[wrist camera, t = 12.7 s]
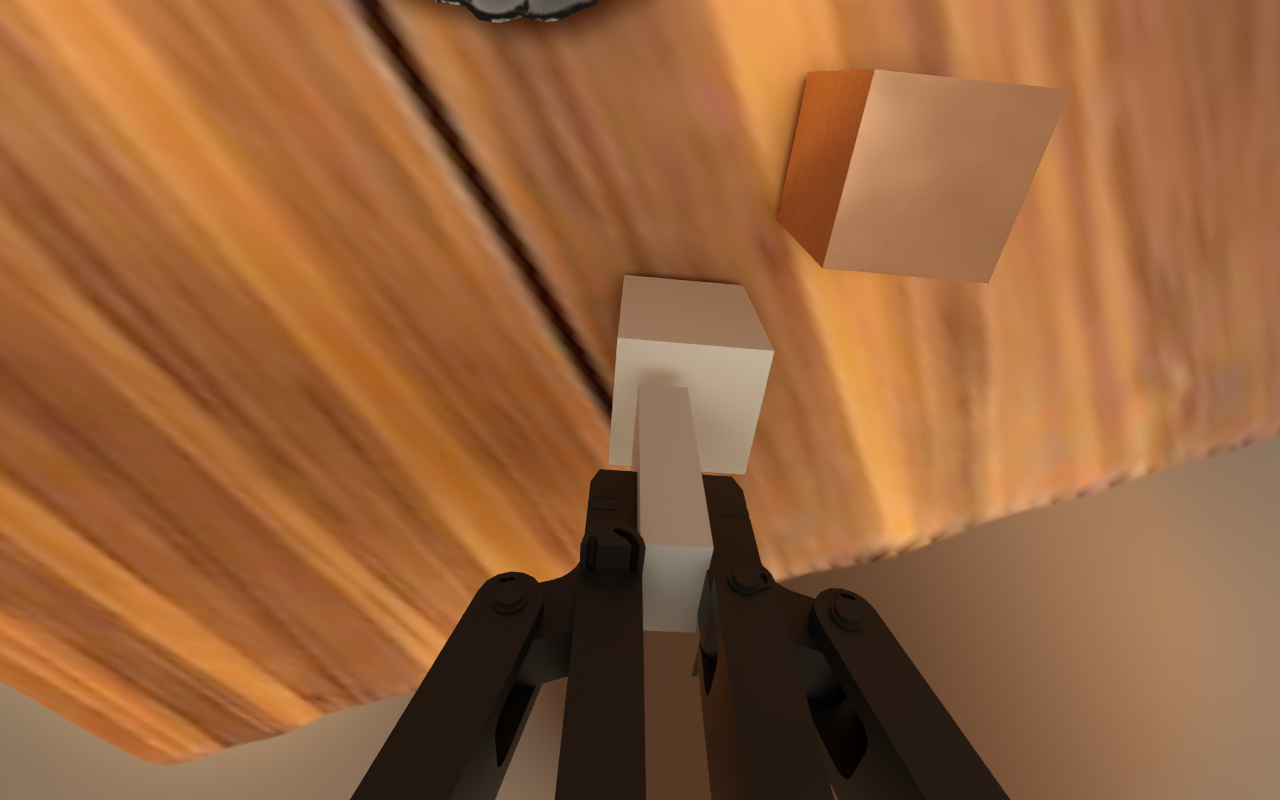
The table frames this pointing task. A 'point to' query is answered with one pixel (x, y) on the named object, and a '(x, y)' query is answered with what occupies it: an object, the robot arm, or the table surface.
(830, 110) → the tan brown block
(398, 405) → the table surface
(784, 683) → the robot arm
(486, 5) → the brain slice
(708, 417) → the cream sugar cube
